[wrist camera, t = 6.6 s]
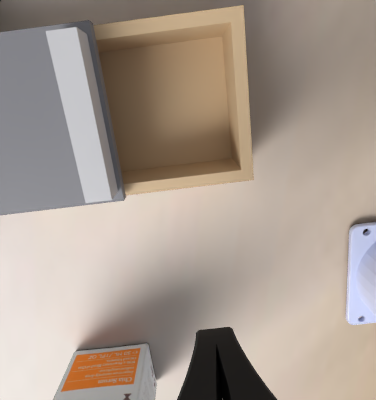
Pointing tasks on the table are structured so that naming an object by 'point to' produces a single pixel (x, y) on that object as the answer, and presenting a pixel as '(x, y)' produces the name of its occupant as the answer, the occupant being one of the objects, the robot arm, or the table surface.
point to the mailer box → (178, 99)
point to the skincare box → (109, 375)
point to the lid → (55, 121)
